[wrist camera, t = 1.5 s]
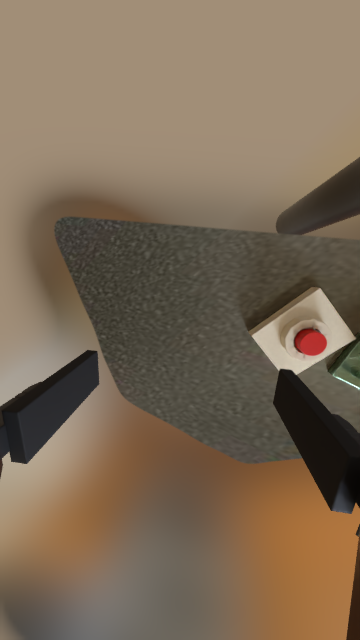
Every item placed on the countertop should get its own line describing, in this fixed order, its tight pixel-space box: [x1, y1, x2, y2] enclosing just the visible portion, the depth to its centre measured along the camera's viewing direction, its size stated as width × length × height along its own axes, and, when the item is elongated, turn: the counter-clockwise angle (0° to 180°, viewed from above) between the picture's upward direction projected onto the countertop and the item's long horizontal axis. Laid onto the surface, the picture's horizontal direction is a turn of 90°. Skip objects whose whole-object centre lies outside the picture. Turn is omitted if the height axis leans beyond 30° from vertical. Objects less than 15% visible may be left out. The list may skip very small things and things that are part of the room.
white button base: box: [248, 287, 356, 375], centre depth 31 cm, size 12×10×4 cm
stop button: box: [295, 329, 327, 356], centre depth 29 cm, size 4×4×2 cm
